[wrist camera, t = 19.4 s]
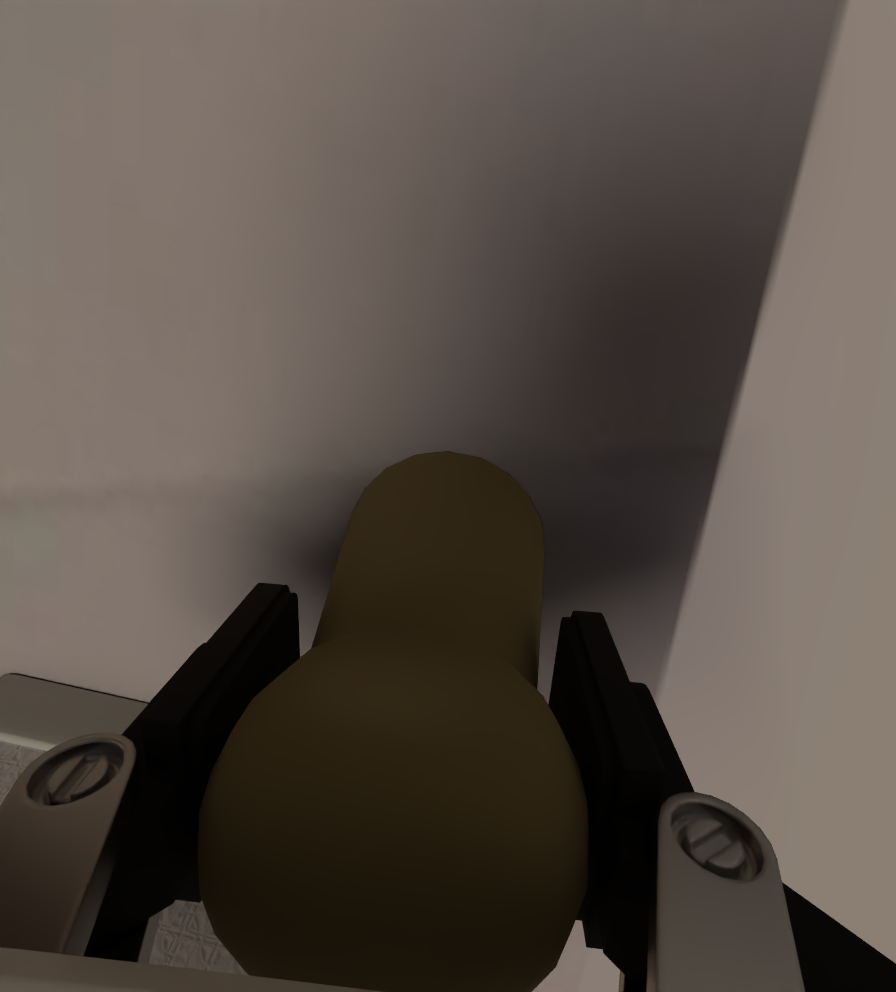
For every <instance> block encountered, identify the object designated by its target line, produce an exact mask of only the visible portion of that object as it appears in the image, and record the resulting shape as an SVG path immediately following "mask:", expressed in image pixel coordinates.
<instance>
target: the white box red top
mask: <svg viewBox="0 0 896 992" xmlns="http://www.w3.org/2000/svg"><path fill="white" fill-rule="evenodd" d="M147 705H148V704H147V703H142V702H138V701H133V700H129V699H124V698H120V697H115V696H111V695H106V694H102V693H97V692H93V691H88V690H84V689H79V688H75V687H70V686H65V685H61V684H56V683H52V682H47V681H43V680H38V679H34V678H29V677H25V676H20V675H15V674H7V675H5V676H2V677H0V805H1V804H2V802H3V801H4V799H5V797H6V796H7V794H8V793H9V791H10V789H11V788H12V786H13V785H14V783H15V781H16V780H17V778H18V777H19V776H20V774H21V773H22V772H23V771H24V770H25V768H26V767H27V766H28V765H29V764H30V763H31V762H33V761H34V760H35V759H37V758H38V757H39V756H40V755H42V754H43V753H44V752H46V751H48V750H50V749H51V748H53V747H55V746H57V745H59V744H60V743H63V742H66V741H68V740H71V739H74V738H76V737H79V736H84V735H89V734H93V733H115V734H119V735H121V734H122V733H123V732H124V731H125V730H126V729H127V728H128V726H129V725H130V724H131V723H132V722H133V721H134V720H135V718H136V717H137V716H138V715H139V714H140V713H141V712H142V711H143V709H144V708H145V707H146V706H147ZM149 964H154V965H163V966H171V967H180V968H189V969H198V970H206V971H215V972H223V973H232V974H240V975H248V974H247V973H246V972H245V971H244V970H243V969H242V967H241V966H240V965H239V964H238V963H237V961H236V960H235V959H234V958H233V956H232V955H231V954H230V953H229V952H228V950H227V949H226V948H225V947H224V945H223V944H222V943H221V942H220V941H219V939H218V938H217V937H216V936H215V934H214V932H213V929H212V926H211V924H210V921H209V918H208V916H207V913H206V910H205V907H204V905H203V902H202V900H201V902H200V903H198V902H189V901H181V900H175V902H174V903H173V904H172V905H170V906H168V907H167V908H165V909H164V910H162V911H160V919H159V923H158V927H157V931H156V935H155V939H154V943H153V948H152V952H151V956H150V960H149ZM248 976H249V975H248Z"/></svg>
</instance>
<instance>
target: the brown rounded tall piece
mask: <svg viewBox="0 0 896 992" xmlns="http://www.w3.org/2000/svg"><path fill="white" fill-rule="evenodd" d="M544 555H545V552H544V539H543V526H542V522H541V520H540V518H539V515H538V513H537V511H536V509H535V506H534V504H533V502H532V500H531V497H530V496H529V495H528V494H527V493H526V492H525V491H524V489H523V488H522V487H521V486H520V485H519V484H518V483H517V482H516V481H515V480H514V479H513V478H512V476H511V475H510V474H509V473H507V472H505V471H503V470H501V469H500V468H498V467H496V466H494V465H493V464H491V463H489V462H487V461H485V460H484V459H482V458H479V457H474V456H469V455H464V454H459V453H454V452H449V451H446V452H437V453H428V454H418V455H414V456H412V457H410V458H408V459H405V460H403V461H401V462H399V463H396V464H394V465H392V466H390V467H388V468H386V469H385V470H384V471H383V472H382V473H381V474H380V475H379V476H378V477H377V478H376V479H374V480H373V481H372V482H371V483H370V484H369V485H368V486H367V487H366V488H365V489H364V491H363V493H362V495H361V497H360V499H359V501H358V503H357V505H356V506H355V508H354V510H353V512H352V514H351V517H350V521H349V524H348V527H347V531H346V534H345V537H344V541H343V544H342V547H341V551H340V554H339V558H338V561H337V564H336V568H335V571H334V574H333V578H332V581H331V584H330V588H329V591H328V594H327V598H326V601H325V604H324V608H323V611H322V614H321V618H320V621H319V624H318V628H317V631H316V634H315V638H314V641H313V645H312V648H311V649H310V650H309V651H308V652H306V653H305V654H304V655H303V656H302V657H301V658H299V659H298V660H297V661H296V662H295V663H293V664H292V665H291V666H290V667H289V668H288V669H286V670H285V671H284V672H283V673H282V674H280V675H279V676H278V677H277V678H276V679H275V680H273V681H272V682H271V683H270V684H269V685H268V686H266V687H265V688H264V689H263V690H262V691H261V692H260V693H258V694H257V695H256V696H255V697H254V698H253V699H252V700H251V702H250V703H249V705H248V706H247V708H246V710H245V711H244V713H243V714H242V716H241V717H240V719H239V720H238V722H237V723H236V725H235V727H234V728H233V730H232V732H231V734H230V736H229V738H228V739H227V741H226V743H225V745H224V747H223V749H222V751H221V753H220V755H219V757H218V759H217V761H216V763H215V764H214V766H213V768H212V770H211V773H210V776H209V780H208V783H207V787H206V790H205V793H204V797H203V800H202V804H201V807H200V812H199V831H198V850H197V858H198V875H199V891H200V897H201V899H202V902H203V905H204V907H205V910H206V913H207V916H208V918H209V921H210V924H211V926H212V929H213V932H214V934H215V936H216V937H217V938H218V939H219V941H220V942H221V943H222V944H223V945H224V947H225V948H226V949H227V950H228V952H229V953H230V954H231V955H232V956H233V958H234V959H235V960H236V961H237V963H238V964H239V965H240V966H241V967H242V969H243V970H244V971H245V972H246V973H247V974H248V975H249V976H257V977H265V978H274V979H282V980H290V981H299V982H307V983H315V984H324V985H332V986H340V987H348V988H356V989H365V990H373V991H381V992H532V991H533V990H534V989H535V988H536V987H537V986H538V985H539V984H540V983H541V982H542V981H543V980H544V979H545V978H546V977H547V976H548V975H549V973H550V972H551V971H552V970H553V969H554V968H555V967H556V965H557V963H558V960H559V958H560V956H561V953H562V951H563V949H564V947H565V944H566V942H567V940H568V937H569V935H570V933H571V930H572V928H573V925H574V923H575V920H576V918H577V915H578V912H579V910H580V907H581V905H582V902H583V900H584V897H585V895H586V892H587V890H588V873H589V856H590V843H589V823H588V806H587V798H586V794H585V790H584V785H583V781H582V777H581V773H580V768H579V764H578V762H577V760H576V758H575V756H574V754H573V752H572V750H571V748H570V746H569V744H568V742H567V740H566V738H565V736H564V734H563V732H562V730H561V728H560V726H559V724H558V722H557V720H556V718H555V716H554V714H553V713H552V711H551V709H550V707H549V706H548V704H547V702H546V700H545V699H544V697H543V695H542V694H541V693H540V692H539V691H538V690H537V684H538V666H539V647H540V629H541V610H542V592H543V573H544Z"/></svg>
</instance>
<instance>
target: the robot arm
mask: <svg viewBox="0 0 896 992" xmlns="http://www.w3.org/2000/svg"><path fill="white" fill-rule="evenodd" d="M299 658H300V648H299V617H298V597H297V594H296V593H291V592H290V590H289V587H288V586H287V585H281V584H269V583H258V584H257V585H256V586H255V587H254V588H253V590H252V591H251V592H250V593H249V594H248V595H247V596H246V598H245V599H244V600H243V601H242V602H241V603H240V605H239V606H238V607H237V608H236V609H235V610H234V611H233V613H232V614H231V615H230V616H229V617H228V618H227V620H226V621H225V622H224V623H223V624H222V625H221V626H220V628H219V629H218V630H217V631H216V632H215V633H214V635H213V636H212V637H211V638H210V639H209V640H208V641H207V643H203V644H202V645H201V646H199V647H198V648H197V649H196V650H195V651H194V653H193V654H192V655H191V656H190V657H189V658H188V659H187V661H186V662H185V663H184V664H183V665H182V666H181V667H180V668H179V670H178V671H177V672H176V673H175V674H174V675H173V676H172V678H171V679H170V680H169V681H168V682H167V683H166V684H165V686H164V687H163V688H162V689H161V690H160V691H159V692H158V693H157V695H156V696H155V697H154V698H153V699H152V700H151V701H150V703H149V704H148V705H147V706H146V707H145V708H144V709H143V711H142V712H141V713H140V714H139V715H138V716H137V717H136V718H135V720H134V721H133V722H132V723H131V724H130V725H129V726H128V728H127V729H126V730H125V731H124V732H123V733H122V734H121V735H119V734H115V733H93V734H89V735H84V736H79V737H76V738H74V739H71V740H68V741H66V742H63V743H60V744H59V745H57V746H55V747H53V748H51V749H50V750H48V751H46V752H44V753H43V754H42V755H40V756H39V757H38V758H37V759H35V760H34V761H33V762H31V763H30V764H29V765H28V766H27V767H26V768H25V770H24V771H23V772H22V773H21V774H20V776H19V777H18V778H17V780H16V781H15V783H14V785H13V786H12V788H11V789H10V791H9V793H8V794H7V796H6V797H5V799H4V801H3V802H2V804H1V805H0V992H381V991H373V990H365V989H356V988H348V987H340V986H332V985H324V984H315V983H307V982H299V981H290V980H282V979H274V978H265V977H257V976H248V975H240V974H232V973H223V972H215V971H206V970H198V969H189V968H180V967H171V966H163V965H154V964H149V960H150V956H151V952H152V948H153V943H154V939H155V935H156V931H157V927H158V923H159V919H160V911H162V910H164V909H165V908H167V907H168V906H170V905H172V904H173V903H174V902H175V900H181V901H189V902H198V903H200V902H201V900H202V899H201V897H200V891H199V875H198V858H197V850H198V831H199V812H200V807H201V804H202V800H203V797H204V793H205V790H206V787H207V783H208V780H209V776H210V773H211V770H212V768H213V766H214V764H215V763H216V761H217V759H218V757H219V755H220V753H221V751H222V749H223V747H224V745H225V743H226V741H227V739H228V738H229V736H230V734H231V732H232V730H233V728H234V727H235V725H236V723H237V722H238V720H239V719H240V717H241V716H242V714H243V713H244V711H245V710H246V708H247V706H248V705H249V703H250V702H251V700H252V699H253V698H254V697H255V696H256V695H257V694H258V693H260V692H261V691H262V690H263V689H264V688H265V687H266V686H268V685H269V684H270V683H271V682H272V681H273V680H275V679H276V678H277V677H278V676H279V675H280V674H282V673H283V672H284V671H285V670H286V669H288V668H289V667H290V666H291V665H292V664H293V663H295V662H296V661H297V660H298V659H299ZM548 706H549V707H550V709H551V711H552V713H553V714H554V716H555V718H556V720H557V722H558V724H559V726H560V728H561V730H562V732H563V734H564V736H565V738H566V740H567V742H568V744H569V746H570V748H571V750H572V752H573V754H574V756H575V758H576V760H577V762H578V764H579V768H580V773H581V777H582V781H583V785H584V790H585V794H586V798H587V806H588V823H589V843H590V856H589V873H588V890H587V892H586V895H585V897H584V900H583V902H582V905H581V907H580V910H579V912H578V915H577V918H576V920H582V923H583V929H584V935H585V942H586V947H588V948H597V949H603V953H604V954H605V955H606V956H607V957H608V958H609V959H610V960H611V961H612V962H613V963H614V964H615V965H616V966H617V967H618V968H619V969H620V970H621V971H620V979H619V992H896V964H895V963H894V962H893V961H891V960H890V959H888V958H887V957H885V956H884V955H883V954H882V953H880V952H879V951H877V950H876V949H875V948H873V947H872V946H870V945H869V944H867V943H866V942H865V941H863V940H862V939H861V938H859V937H858V936H856V935H855V934H854V933H852V932H851V931H849V930H848V929H847V928H845V927H844V926H842V925H841V924H840V923H838V922H837V921H836V920H834V919H833V918H831V917H830V916H829V915H827V914H826V913H824V912H823V911H822V910H820V909H819V908H817V907H816V906H815V905H813V904H812V903H810V902H809V901H808V900H806V899H805V898H803V897H802V896H801V895H799V894H798V893H796V892H795V891H794V890H792V889H791V888H789V887H788V886H787V885H785V884H784V883H783V882H782V880H781V876H780V871H779V866H778V862H777V858H776V855H775V853H774V850H773V847H772V845H771V843H770V842H769V840H768V839H767V837H766V836H765V834H764V833H763V832H762V830H761V829H760V827H758V826H757V825H756V824H755V823H754V822H753V821H752V820H751V819H750V818H749V817H748V816H746V814H744V813H743V812H741V811H740V810H738V809H737V808H735V807H734V806H732V805H731V804H729V803H727V802H725V801H723V800H720V799H718V798H716V797H713V796H711V795H706V794H701V793H697V792H694V790H693V787H692V785H691V783H690V781H689V778H688V776H687V774H686V771H685V769H684V767H683V765H682V762H681V760H680V758H679V756H678V753H677V751H676V749H675V747H674V744H673V742H672V740H671V738H670V736H669V733H668V731H667V729H666V726H665V725H664V722H663V720H662V718H661V715H660V713H659V711H658V709H657V706H656V704H655V702H654V700H653V697H652V695H651V693H650V691H649V689H648V687H647V686H646V685H645V684H643V683H636V682H630V681H629V678H628V676H627V673H626V671H625V668H624V666H623V663H622V661H621V658H620V656H619V653H618V651H617V648H616V646H615V643H614V641H613V638H612V636H611V633H610V631H609V628H608V626H607V623H606V621H605V619H604V616H603V614H602V613H598V612H587V611H575V610H574V611H573V612H572V614H571V617H562V619H561V624H560V630H559V637H558V644H557V651H556V657H555V664H554V671H553V678H552V684H551V691H550V698H549V705H548Z"/></svg>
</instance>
